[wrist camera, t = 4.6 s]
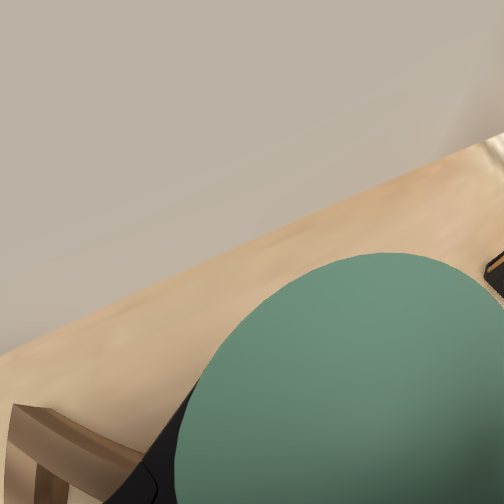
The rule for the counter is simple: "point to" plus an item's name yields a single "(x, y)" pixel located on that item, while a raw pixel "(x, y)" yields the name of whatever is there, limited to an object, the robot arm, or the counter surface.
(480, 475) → the peg
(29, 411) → the socket block
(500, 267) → the ammunition clip
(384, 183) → the counter surface
